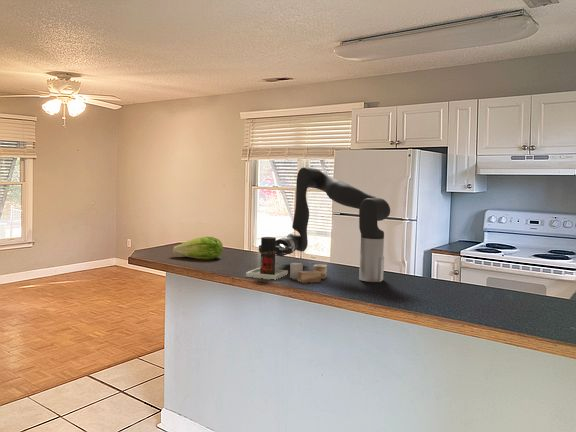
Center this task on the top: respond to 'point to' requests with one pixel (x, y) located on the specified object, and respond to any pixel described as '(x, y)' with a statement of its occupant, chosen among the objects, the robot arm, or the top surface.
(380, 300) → the top surface
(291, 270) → the grey cylinder
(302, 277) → the beech brick
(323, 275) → the maple cube
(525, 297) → the top surface
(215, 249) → the lettuce
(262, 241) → the deodorant
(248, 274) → the tray
